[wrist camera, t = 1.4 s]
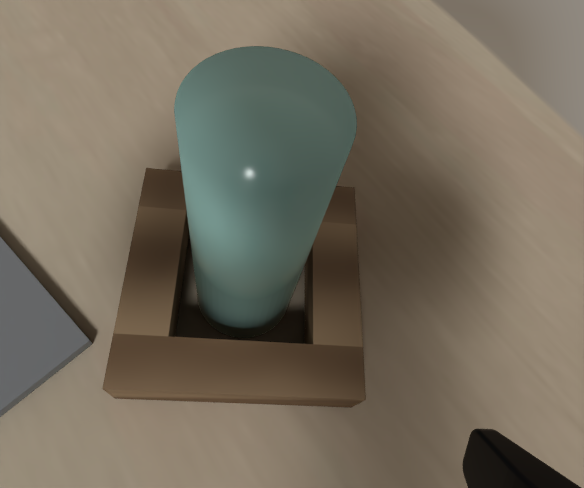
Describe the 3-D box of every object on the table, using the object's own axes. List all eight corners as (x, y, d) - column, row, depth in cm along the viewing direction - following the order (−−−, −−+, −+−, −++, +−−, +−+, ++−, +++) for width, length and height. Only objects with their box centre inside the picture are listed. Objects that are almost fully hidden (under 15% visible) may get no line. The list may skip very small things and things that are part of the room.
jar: (308, 294, 24) (391, 121, 13) (242, 358, 23) (267, 222, 11) (245, 235, 26) (268, 23, 14) (177, 290, 24) (134, 99, 12)
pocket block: (351, 407, 22) (365, 399, 20) (114, 398, 21) (102, 388, 19) (343, 211, 27) (354, 187, 25) (152, 194, 26) (146, 168, 24)
